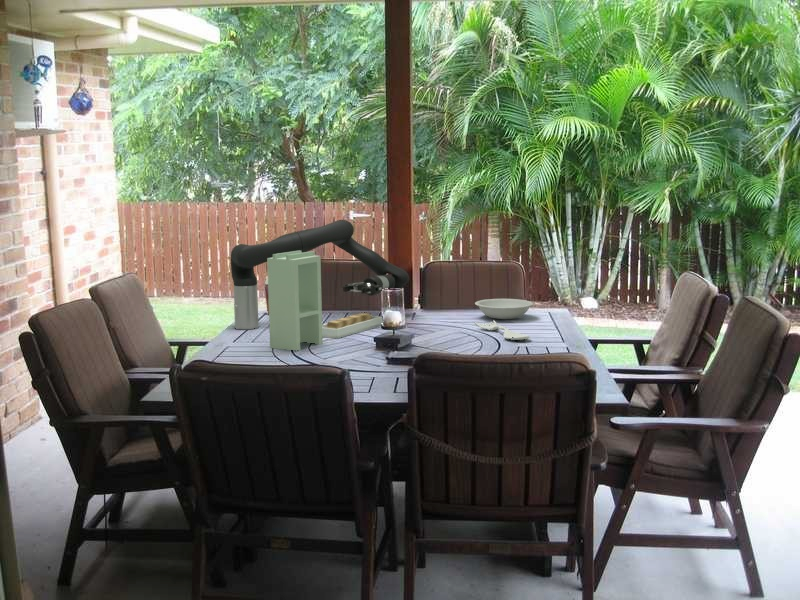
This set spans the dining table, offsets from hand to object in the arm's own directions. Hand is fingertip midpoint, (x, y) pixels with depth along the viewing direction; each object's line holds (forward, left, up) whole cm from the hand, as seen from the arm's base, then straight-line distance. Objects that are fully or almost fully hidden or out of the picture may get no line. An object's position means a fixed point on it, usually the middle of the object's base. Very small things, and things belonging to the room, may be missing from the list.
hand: (352, 290), depth 352 cm
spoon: (+52, -27, -16) cm, 61 cm away
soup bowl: (+65, +7, -16) cm, 67 cm away
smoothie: (-26, +46, -16) cm, 55 cm away
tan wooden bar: (-2, -2, -15) cm, 15 cm away
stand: (-25, -25, -16) cm, 39 cm away
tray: (-2, -2, -16) cm, 16 cm away
